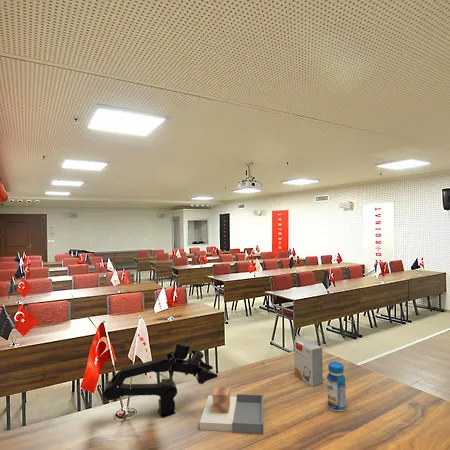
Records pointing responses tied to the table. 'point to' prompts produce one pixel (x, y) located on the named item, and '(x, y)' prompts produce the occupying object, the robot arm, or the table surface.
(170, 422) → the table surface
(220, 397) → the block
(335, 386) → the beverage bottle
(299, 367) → the hard drive box
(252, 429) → the box
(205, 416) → the cream slab
